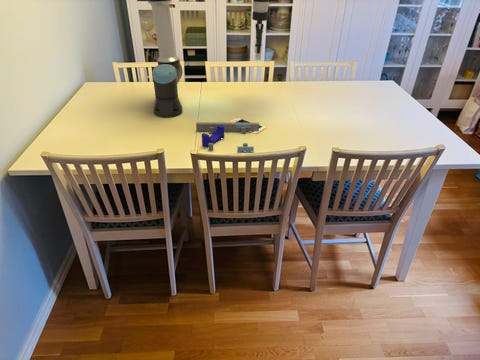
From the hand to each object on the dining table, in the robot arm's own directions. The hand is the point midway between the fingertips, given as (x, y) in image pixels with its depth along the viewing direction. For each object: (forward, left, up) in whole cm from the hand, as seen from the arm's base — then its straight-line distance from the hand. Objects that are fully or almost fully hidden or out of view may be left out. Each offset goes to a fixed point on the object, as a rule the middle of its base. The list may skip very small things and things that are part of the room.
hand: (257, 56), depth 175 cm
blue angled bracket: (-23, -44, -27) cm, 57 cm away
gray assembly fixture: (-16, -44, -27) cm, 54 cm away
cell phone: (-6, -28, -28) cm, 39 cm away
